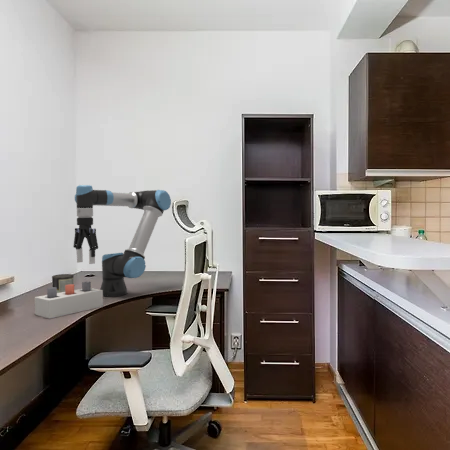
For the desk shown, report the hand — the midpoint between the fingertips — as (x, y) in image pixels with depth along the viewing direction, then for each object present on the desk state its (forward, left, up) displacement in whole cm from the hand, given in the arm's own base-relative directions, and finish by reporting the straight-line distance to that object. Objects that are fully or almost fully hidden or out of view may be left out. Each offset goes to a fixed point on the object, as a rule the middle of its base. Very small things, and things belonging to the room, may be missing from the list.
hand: (85, 262), depth 201 cm
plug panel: (+9, 0, -22) cm, 23 cm away
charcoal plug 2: (0, 0, -17) cm, 17 cm away
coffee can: (+2, -17, -22) cm, 28 cm away
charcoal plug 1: (+18, 0, -17) cm, 24 cm away
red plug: (+9, 0, -17) cm, 19 cm away
